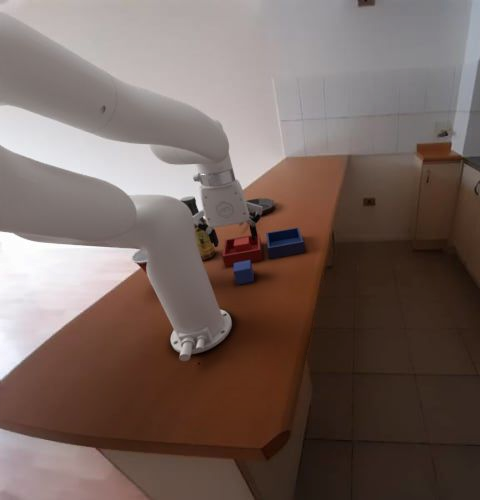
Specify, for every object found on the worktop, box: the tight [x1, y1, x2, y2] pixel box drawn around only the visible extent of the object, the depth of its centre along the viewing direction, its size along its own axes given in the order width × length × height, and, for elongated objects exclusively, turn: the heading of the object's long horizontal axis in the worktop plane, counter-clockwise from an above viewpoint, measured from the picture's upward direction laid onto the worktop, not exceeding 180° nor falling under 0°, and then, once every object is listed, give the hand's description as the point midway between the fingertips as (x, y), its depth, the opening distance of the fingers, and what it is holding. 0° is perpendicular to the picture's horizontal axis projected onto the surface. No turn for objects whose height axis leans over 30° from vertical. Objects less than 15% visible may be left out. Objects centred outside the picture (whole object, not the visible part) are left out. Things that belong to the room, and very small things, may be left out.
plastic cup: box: [130, 249, 148, 275], centre depth 75 cm, size 11×11×12 cm
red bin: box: [222, 233, 264, 268], centre depth 90 cm, size 11×11×4 cm
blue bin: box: [265, 227, 306, 260], centre depth 92 cm, size 11×11×4 cm
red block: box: [234, 237, 252, 253], centre depth 89 cm, size 4×4×4 cm
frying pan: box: [238, 197, 275, 226], centre depth 117 cm, size 18×32×4 cm, turn 1°
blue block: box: [232, 260, 255, 286], centre depth 78 cm, size 4×4×4 cm
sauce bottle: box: [179, 195, 216, 261], centre depth 87 cm, size 6×6×20 cm
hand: (235, 241), depth 74 cm, fingers open, 9 cm apart
